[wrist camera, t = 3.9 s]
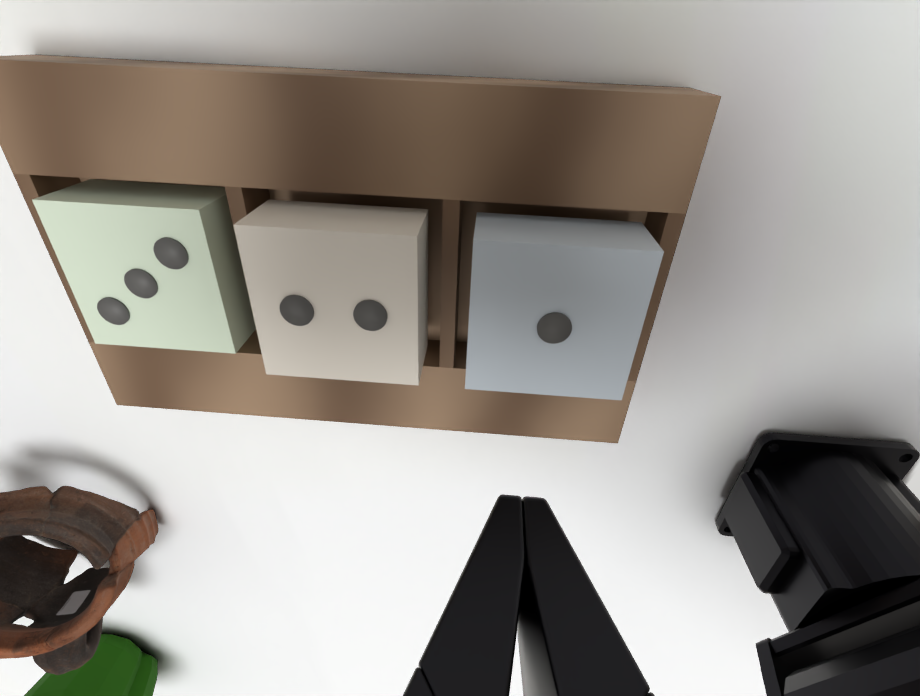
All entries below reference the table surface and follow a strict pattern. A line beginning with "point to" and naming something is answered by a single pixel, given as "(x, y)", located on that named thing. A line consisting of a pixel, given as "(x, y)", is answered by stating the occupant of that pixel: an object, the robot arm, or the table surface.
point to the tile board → (362, 200)
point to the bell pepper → (105, 673)
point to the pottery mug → (64, 571)
